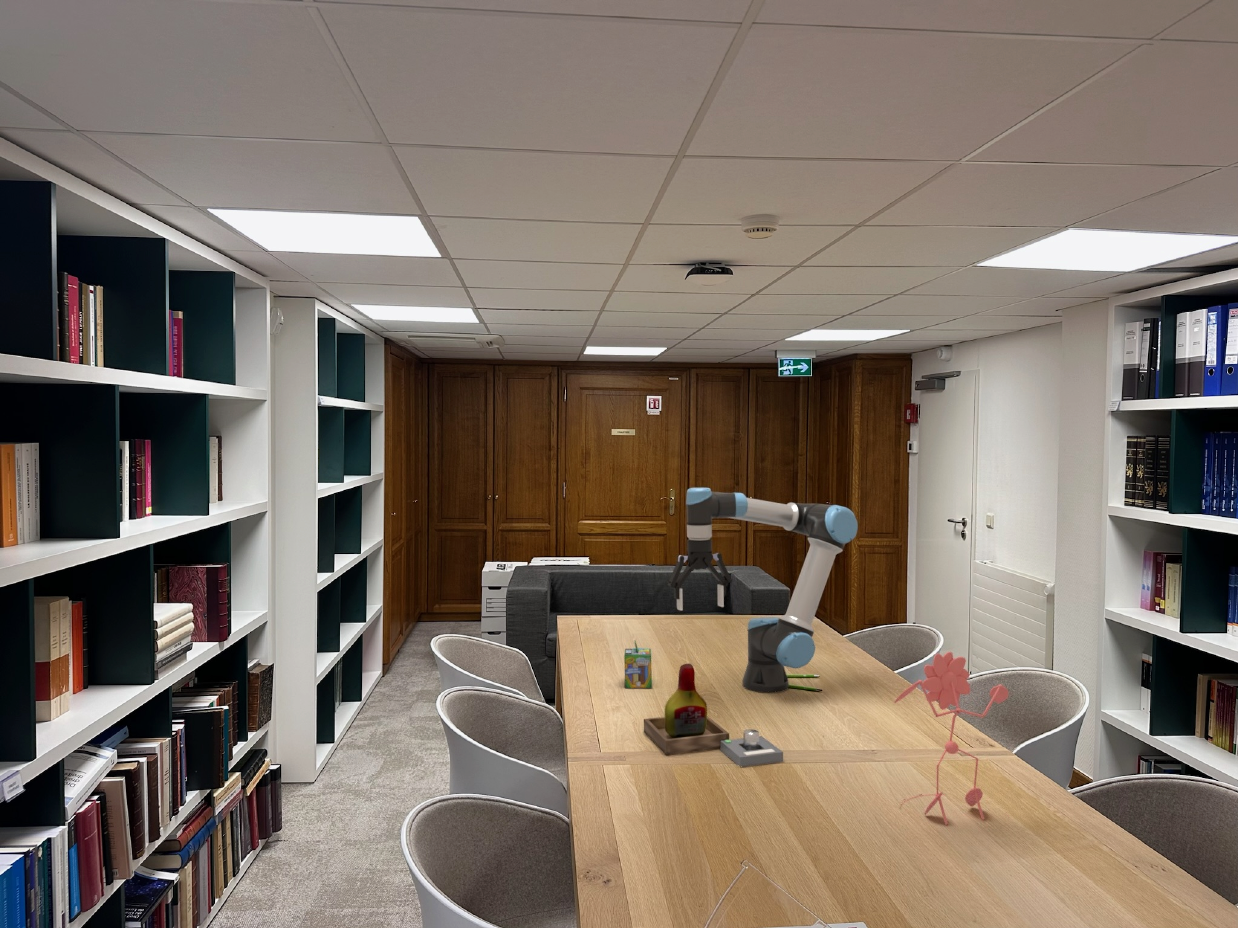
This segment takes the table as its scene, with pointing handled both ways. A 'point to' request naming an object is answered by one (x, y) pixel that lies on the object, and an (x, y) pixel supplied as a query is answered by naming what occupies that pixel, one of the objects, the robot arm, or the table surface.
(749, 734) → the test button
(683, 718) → the bottle
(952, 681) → the figurine
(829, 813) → the table surface
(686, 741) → the tray
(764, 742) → the grey flat square piece
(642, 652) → the chalk box
